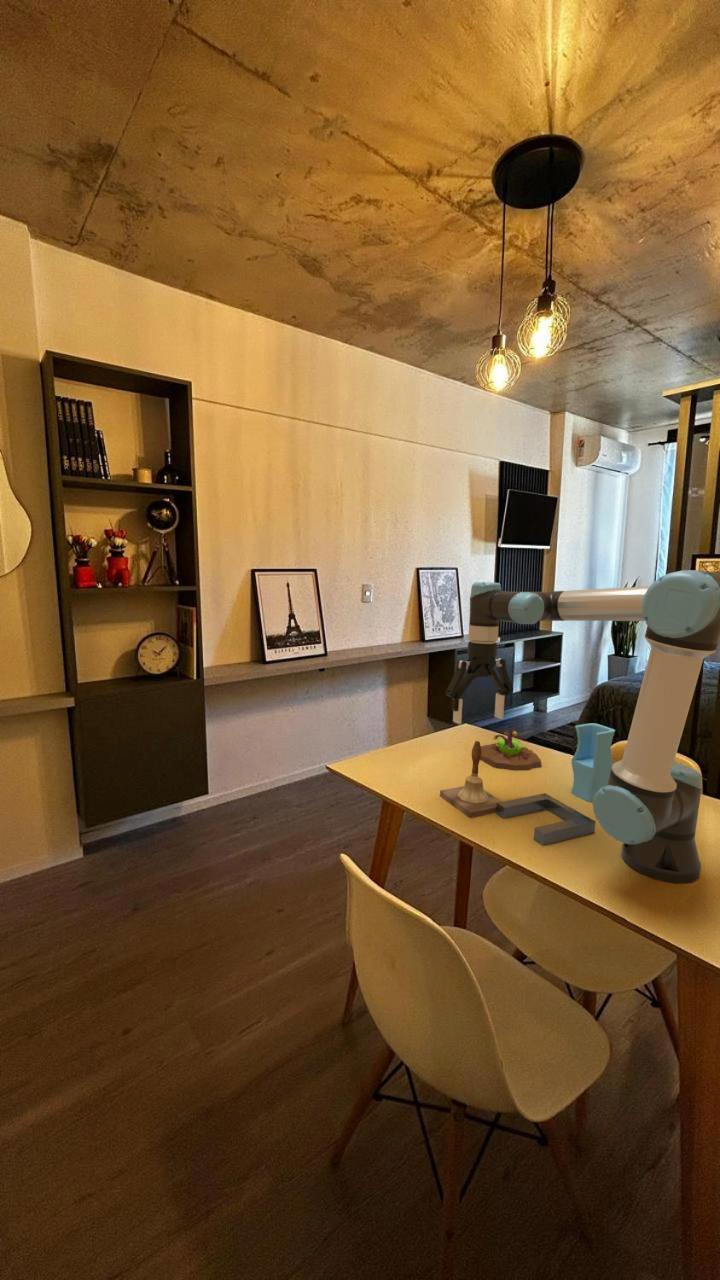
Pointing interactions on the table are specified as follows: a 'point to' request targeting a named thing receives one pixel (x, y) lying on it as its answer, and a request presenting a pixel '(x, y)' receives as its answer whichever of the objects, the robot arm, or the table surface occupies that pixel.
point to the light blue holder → (592, 760)
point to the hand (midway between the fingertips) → (478, 720)
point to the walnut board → (469, 808)
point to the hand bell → (474, 781)
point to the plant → (509, 754)
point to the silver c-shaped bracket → (558, 831)
